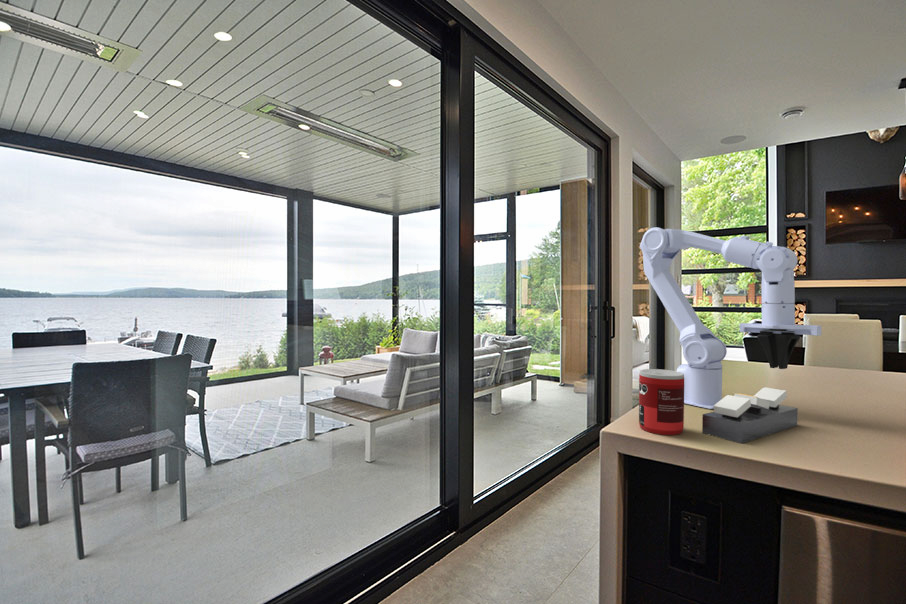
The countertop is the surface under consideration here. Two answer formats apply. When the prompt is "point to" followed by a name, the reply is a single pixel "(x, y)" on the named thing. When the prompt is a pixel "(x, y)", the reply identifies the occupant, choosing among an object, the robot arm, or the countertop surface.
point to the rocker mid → (755, 401)
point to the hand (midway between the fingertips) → (778, 368)
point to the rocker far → (772, 396)
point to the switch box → (750, 423)
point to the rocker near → (732, 406)
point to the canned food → (661, 401)
